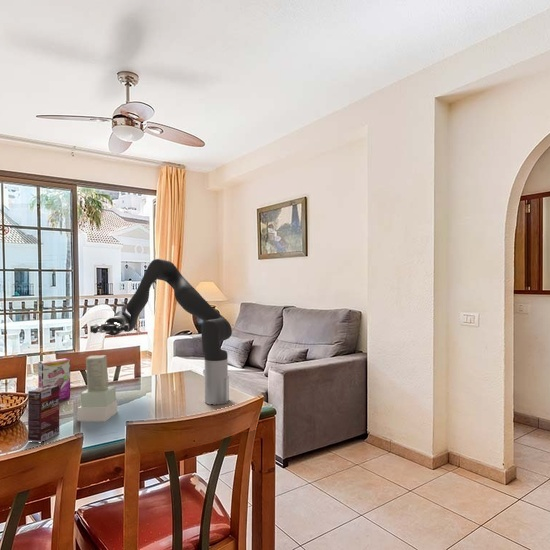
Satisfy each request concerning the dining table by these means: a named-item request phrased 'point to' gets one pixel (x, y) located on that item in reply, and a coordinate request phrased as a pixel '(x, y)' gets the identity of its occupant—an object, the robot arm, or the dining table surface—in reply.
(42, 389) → the supplement box
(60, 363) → the candy bar box
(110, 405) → the tower base block
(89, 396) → the tower top block
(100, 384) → the skincare box
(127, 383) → the dining table surface
